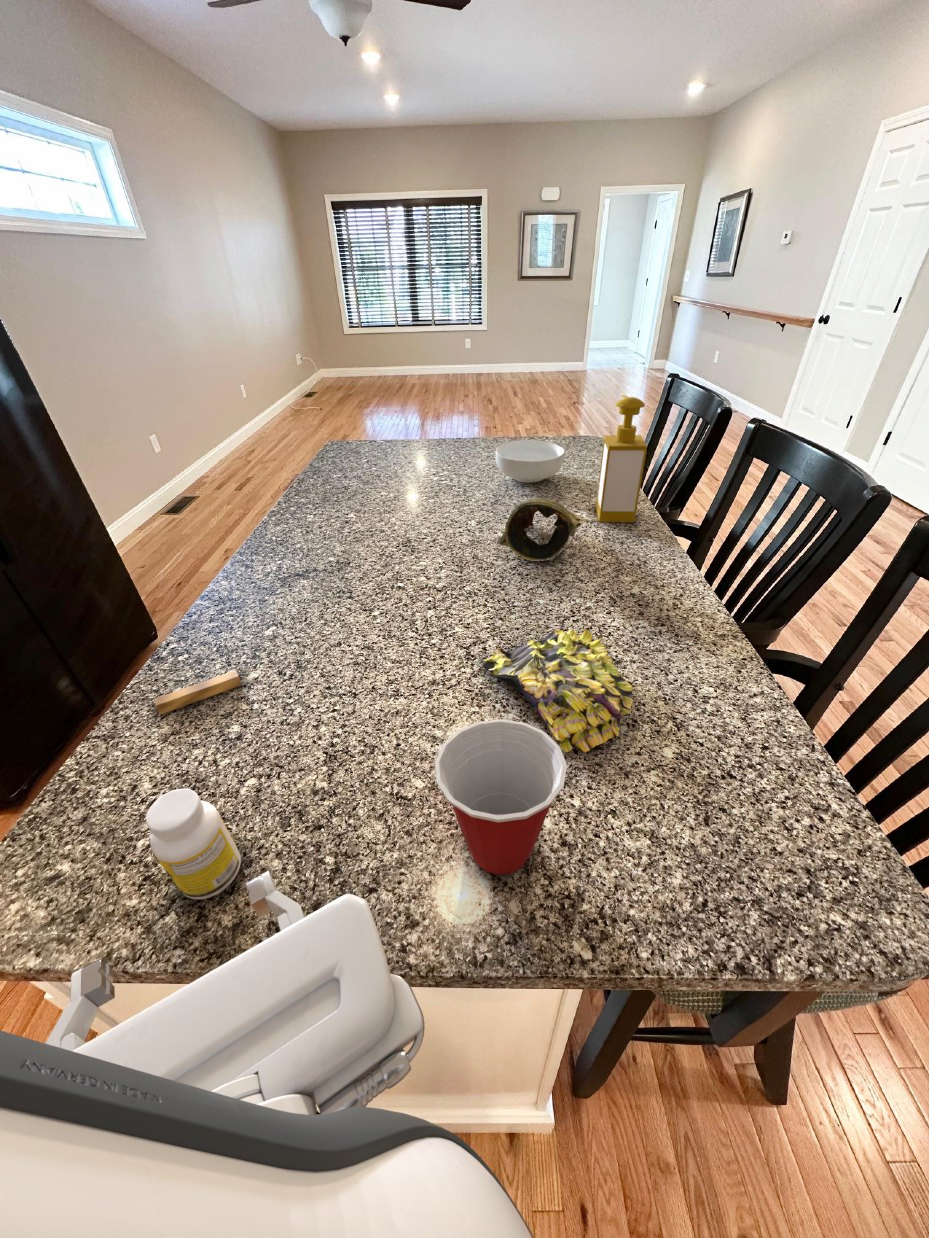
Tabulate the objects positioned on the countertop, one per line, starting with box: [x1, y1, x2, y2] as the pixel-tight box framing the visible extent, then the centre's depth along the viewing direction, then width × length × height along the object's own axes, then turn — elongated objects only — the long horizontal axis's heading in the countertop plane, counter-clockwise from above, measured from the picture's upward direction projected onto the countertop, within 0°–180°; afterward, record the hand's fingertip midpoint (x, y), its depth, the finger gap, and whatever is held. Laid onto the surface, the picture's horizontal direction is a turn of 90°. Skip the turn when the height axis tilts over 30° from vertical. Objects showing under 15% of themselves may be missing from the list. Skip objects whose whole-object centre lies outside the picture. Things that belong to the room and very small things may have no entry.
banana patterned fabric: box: [482, 628, 634, 753], centre depth 64 cm, size 20×16×6 cm
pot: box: [495, 497, 590, 562], centre depth 97 cm, size 17×11×18 cm
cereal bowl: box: [495, 439, 566, 484], centre depth 128 cm, size 17×17×7 cm
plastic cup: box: [434, 718, 568, 876], centre depth 45 cm, size 11×11×12 cm
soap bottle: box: [595, 394, 648, 523], centre depth 105 cm, size 7×13×24 cm, turn 174°
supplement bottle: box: [145, 788, 242, 900], centre depth 45 cm, size 5×5×10 cm
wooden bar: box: [154, 669, 243, 715], centre depth 67 cm, size 10×2×2 cm, turn 122°
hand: (181, 922), depth 31 cm, fingers open, 8 cm apart
